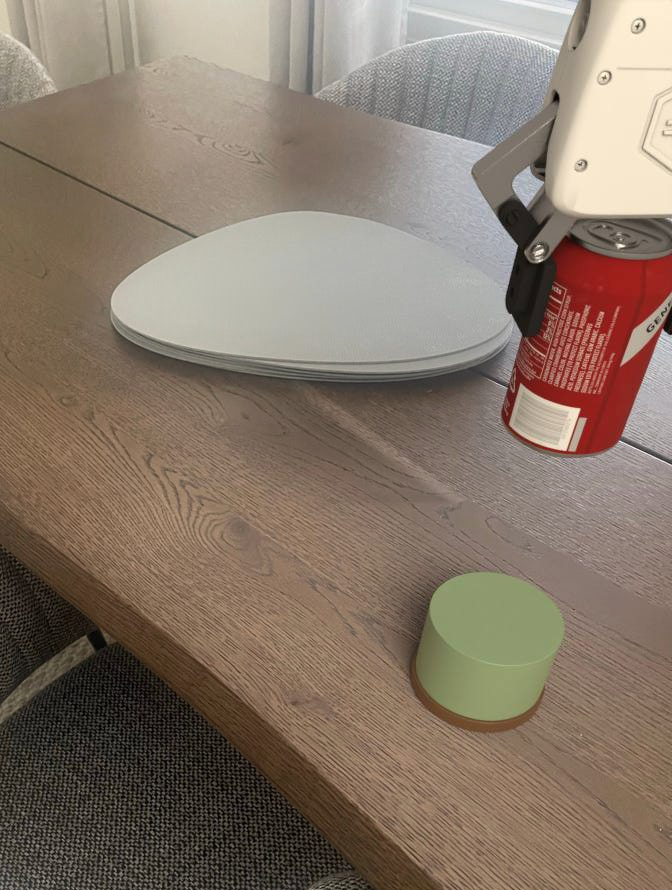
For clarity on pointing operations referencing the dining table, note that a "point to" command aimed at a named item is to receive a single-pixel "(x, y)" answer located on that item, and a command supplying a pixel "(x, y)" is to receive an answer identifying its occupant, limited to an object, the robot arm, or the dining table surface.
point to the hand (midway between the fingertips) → (593, 320)
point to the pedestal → (486, 651)
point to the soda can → (592, 337)
